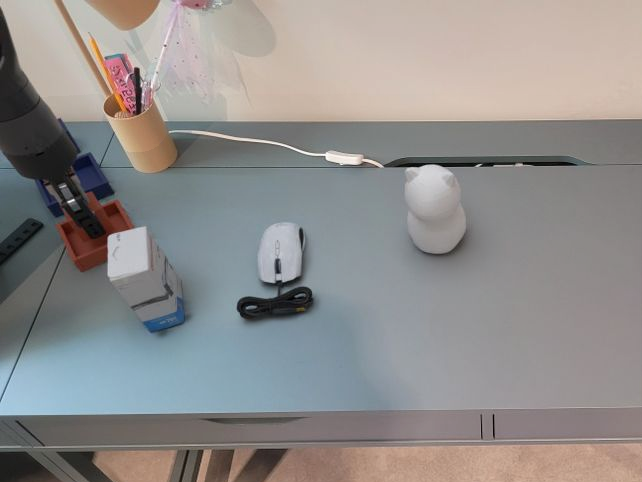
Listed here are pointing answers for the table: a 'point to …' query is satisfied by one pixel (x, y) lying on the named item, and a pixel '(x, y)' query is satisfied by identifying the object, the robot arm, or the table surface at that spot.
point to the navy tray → (89, 180)
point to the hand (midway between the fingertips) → (93, 225)
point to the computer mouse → (279, 271)
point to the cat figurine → (434, 208)
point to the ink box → (145, 278)
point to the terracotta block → (99, 213)
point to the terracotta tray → (96, 248)
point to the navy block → (69, 134)
